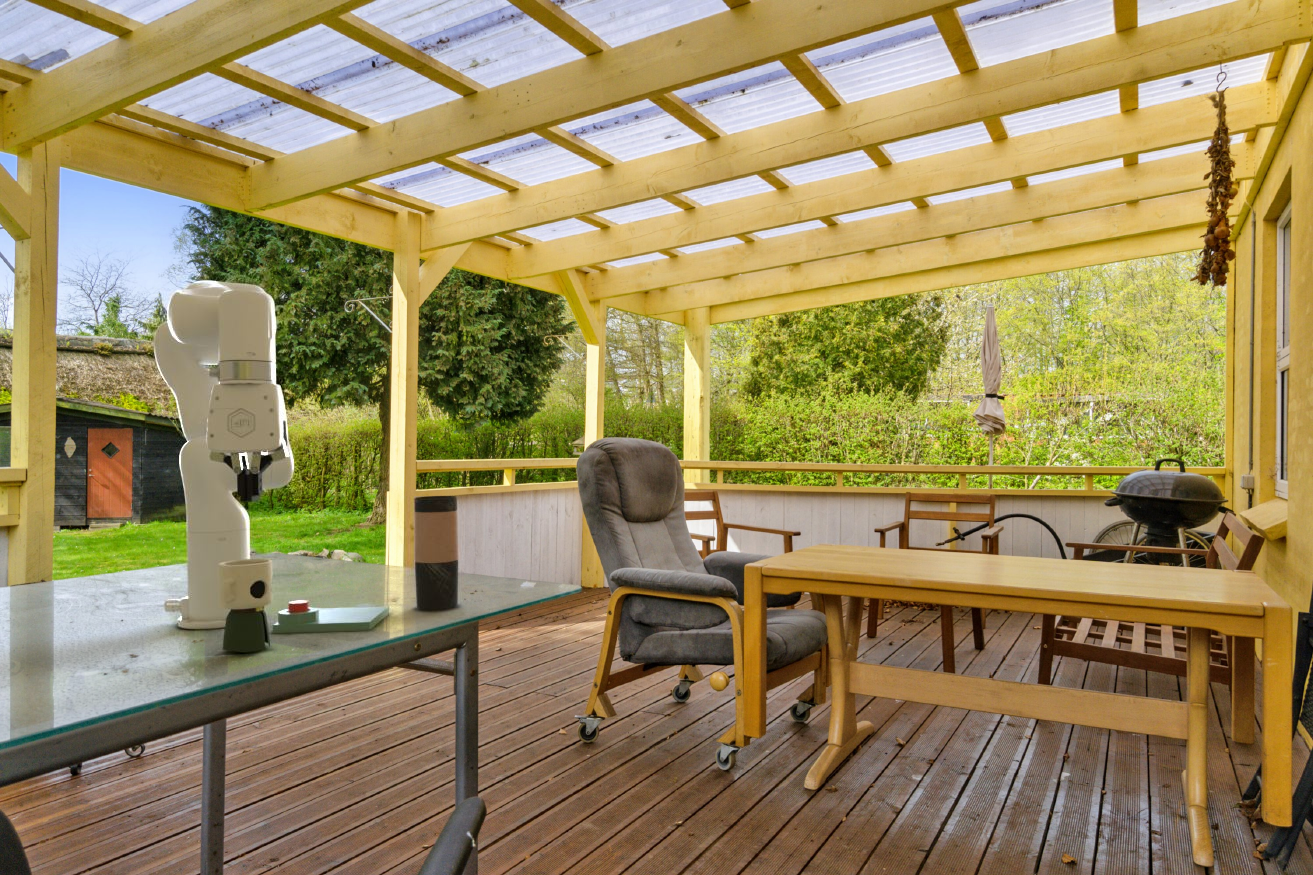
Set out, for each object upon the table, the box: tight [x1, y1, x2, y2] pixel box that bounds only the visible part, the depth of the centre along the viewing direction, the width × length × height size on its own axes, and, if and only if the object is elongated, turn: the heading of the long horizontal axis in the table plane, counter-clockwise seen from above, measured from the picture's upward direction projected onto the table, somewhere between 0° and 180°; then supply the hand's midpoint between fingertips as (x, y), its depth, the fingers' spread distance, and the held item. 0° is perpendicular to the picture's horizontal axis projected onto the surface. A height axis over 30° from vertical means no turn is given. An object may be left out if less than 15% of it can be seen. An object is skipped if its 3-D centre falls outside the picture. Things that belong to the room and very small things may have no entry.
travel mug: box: [413, 495, 459, 612], centre depth 155 cm, size 8×8×20 cm
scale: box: [272, 605, 390, 634], centre depth 143 cm, size 15×13×3 cm
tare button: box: [288, 599, 310, 613], centre depth 139 cm, size 3×3×2 cm
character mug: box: [219, 558, 274, 655], centre depth 124 cm, size 11×7×13 cm, turn 175°
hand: (250, 500), depth 126 cm, fingers closed
